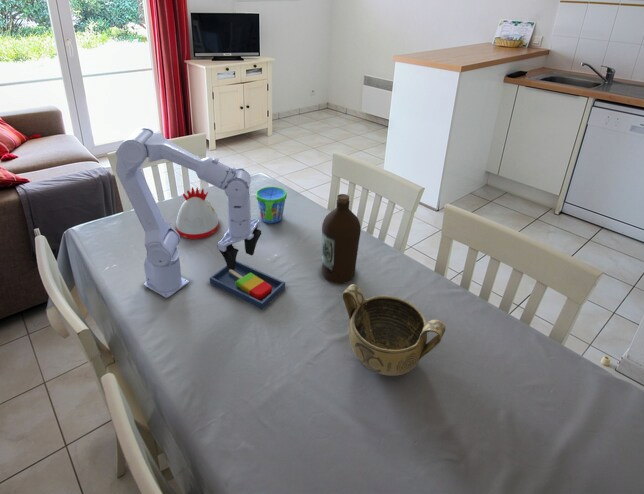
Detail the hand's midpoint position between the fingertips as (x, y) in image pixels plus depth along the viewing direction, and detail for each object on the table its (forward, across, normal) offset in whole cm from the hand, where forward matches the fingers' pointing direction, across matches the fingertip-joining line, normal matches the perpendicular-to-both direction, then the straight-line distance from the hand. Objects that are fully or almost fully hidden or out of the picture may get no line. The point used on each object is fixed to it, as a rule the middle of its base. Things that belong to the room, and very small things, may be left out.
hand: (240, 260), depth 114 cm
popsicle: (+8, +1, -1) cm, 8 cm away
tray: (+8, +1, -1) cm, 9 cm away
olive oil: (+8, +20, -19) cm, 29 cm away
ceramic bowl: (+8, -1, -42) cm, 43 cm away
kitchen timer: (+9, +15, +32) cm, 36 cm away
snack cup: (+9, +34, +15) cm, 38 cm away
